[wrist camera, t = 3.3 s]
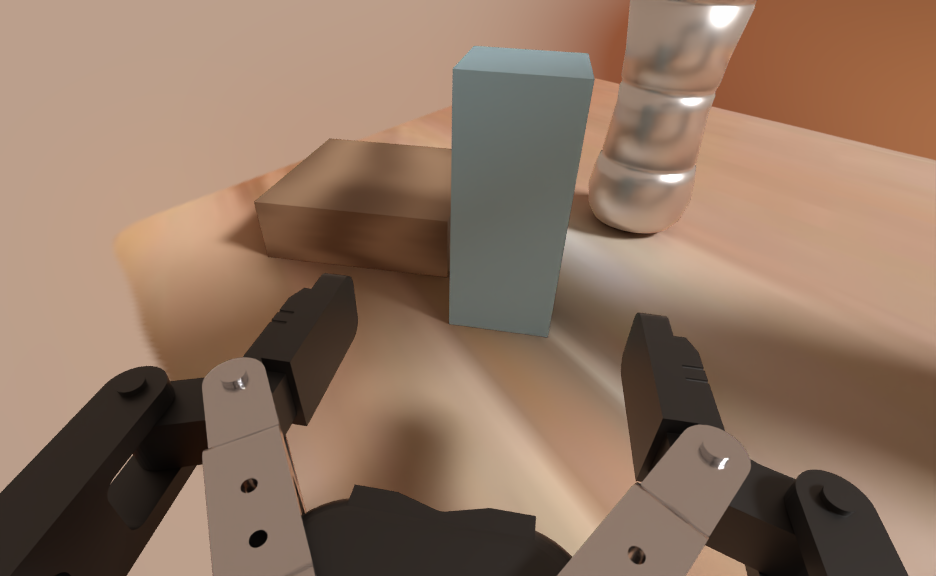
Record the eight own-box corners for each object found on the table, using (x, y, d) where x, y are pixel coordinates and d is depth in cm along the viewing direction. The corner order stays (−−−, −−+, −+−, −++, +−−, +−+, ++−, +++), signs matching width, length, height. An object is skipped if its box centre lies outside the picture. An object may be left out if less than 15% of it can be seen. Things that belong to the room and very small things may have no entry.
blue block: (550, 280, 27) (588, 53, 20) (547, 337, 23) (594, 79, 16) (465, 270, 28) (474, 46, 21) (448, 323, 24) (452, 69, 17)
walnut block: (473, 201, 36) (475, 150, 34) (446, 282, 27) (447, 221, 25) (336, 188, 37) (329, 138, 35) (269, 262, 29) (253, 201, 26)
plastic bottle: (586, 196, 37) (655, -150, 25) (677, 211, 35) (796, -150, 24) (577, 235, 32) (658, -176, 20) (683, 253, 30) (837, -178, 18)
